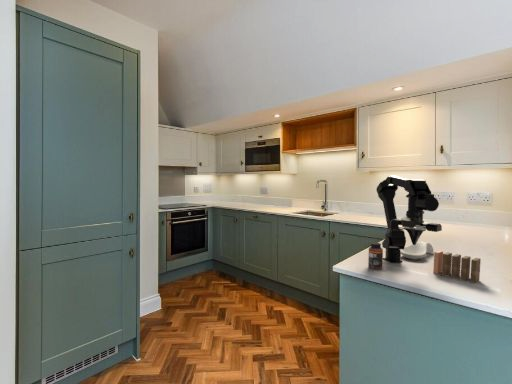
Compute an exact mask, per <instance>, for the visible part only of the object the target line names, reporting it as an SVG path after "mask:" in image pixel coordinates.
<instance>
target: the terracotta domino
mask: <svg viewBox="0 0 512 384" xmlns="http://www.w3.org/2000/svg"><path fill="white" fill-rule="evenodd" d="M443 254H444V251H443V250H438V251H434V254H433V268H432V269H433V271H432V273H433V274H438V275H439V274H440V273H442V264H443Z"/></svg>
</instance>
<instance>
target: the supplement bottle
mask: <svg viewBox="0 0 512 384" xmlns="http://www.w3.org/2000/svg"><path fill="white" fill-rule="evenodd" d="M381 246H382V243H381V242H375V241H372V242H371V243H370V247H368V260H367V261H368V265H367V266H368V268H370V269H372V270H376V271H377V270H382V269H383V266H384V265H383V261H384V259H383V258H384V255H383V254H384V250H383V249H384V248H383V247H381Z"/></svg>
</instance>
